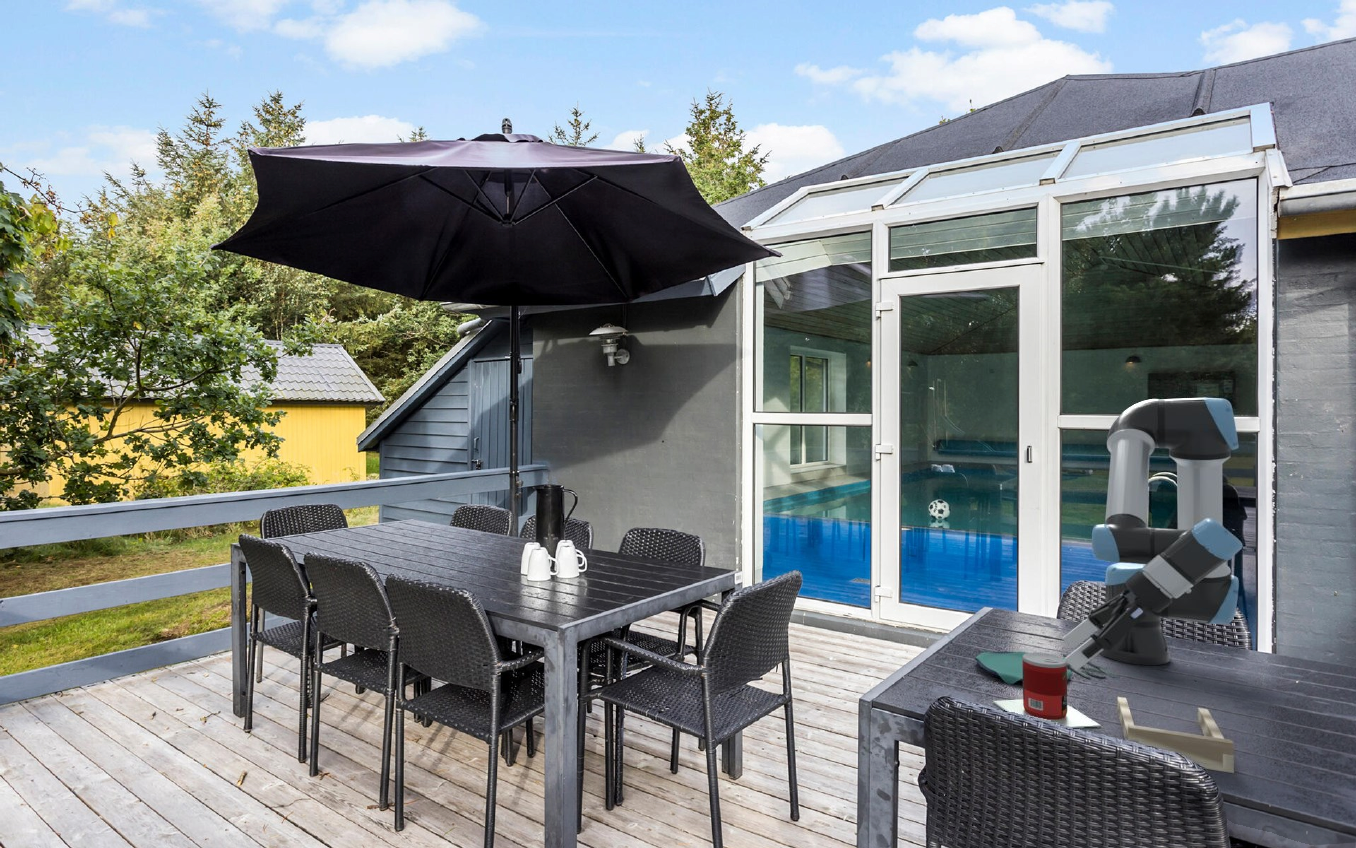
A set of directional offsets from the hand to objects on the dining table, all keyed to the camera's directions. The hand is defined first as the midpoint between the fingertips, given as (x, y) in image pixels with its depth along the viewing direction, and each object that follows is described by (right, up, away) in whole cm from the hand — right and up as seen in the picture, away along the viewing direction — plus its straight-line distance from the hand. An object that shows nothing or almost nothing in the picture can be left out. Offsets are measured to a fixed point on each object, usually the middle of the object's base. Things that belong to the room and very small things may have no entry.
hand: (1068, 653), depth 143 cm
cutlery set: (+9, -13, +27) cm, 32 cm away
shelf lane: (+14, -13, -9) cm, 21 cm away
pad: (-4, -13, +2) cm, 14 cm away
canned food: (-4, -13, +2) cm, 14 cm away
